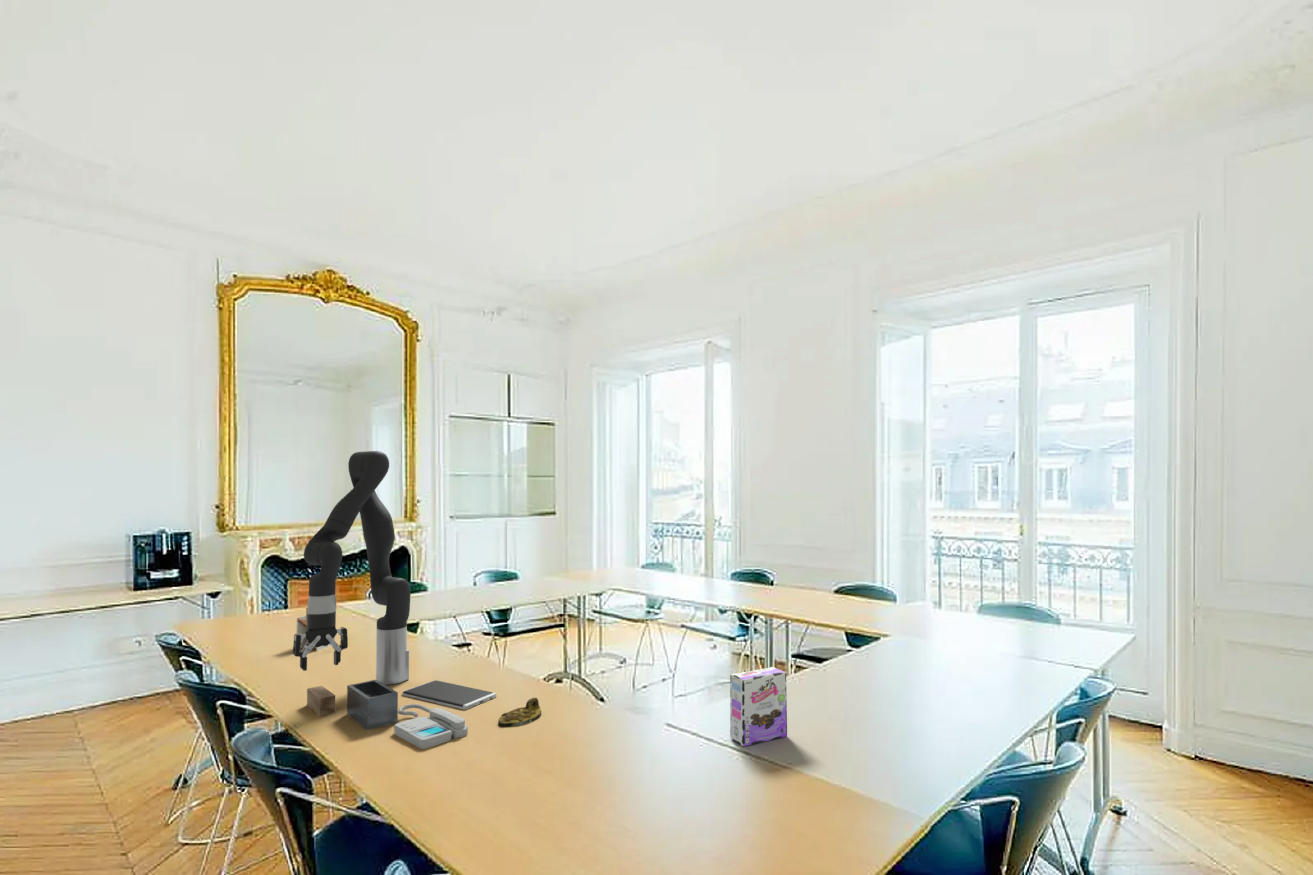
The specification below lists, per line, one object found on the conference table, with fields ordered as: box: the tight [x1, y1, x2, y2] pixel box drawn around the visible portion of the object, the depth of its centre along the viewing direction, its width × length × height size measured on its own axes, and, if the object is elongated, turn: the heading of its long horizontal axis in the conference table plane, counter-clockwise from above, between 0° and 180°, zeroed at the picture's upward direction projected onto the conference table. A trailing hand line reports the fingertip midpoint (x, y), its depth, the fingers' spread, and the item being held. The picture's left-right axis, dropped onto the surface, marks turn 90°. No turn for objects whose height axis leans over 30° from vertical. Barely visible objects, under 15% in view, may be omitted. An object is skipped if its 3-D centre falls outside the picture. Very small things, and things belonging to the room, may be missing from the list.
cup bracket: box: [346, 679, 399, 731], centre depth 193 cm, size 8×16×8 cm, turn 42°
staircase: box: [296, 607, 336, 652], centre depth 270 cm, size 9×11×17 cm
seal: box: [497, 697, 542, 727], centre depth 192 cm, size 9×5×15 cm
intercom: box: [393, 703, 469, 750], centre depth 184 cm, size 13×4×25 cm
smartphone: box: [401, 679, 497, 711], centre depth 211 cm, size 13×27×2 cm, turn 60°
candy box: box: [729, 666, 788, 747], centre depth 177 cm, size 14×6×16 cm, turn 117°
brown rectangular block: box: [306, 685, 336, 717], centre depth 201 cm, size 4×12×5 cm, turn 42°
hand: (320, 667), depth 201 cm, fingers open, 8 cm apart
